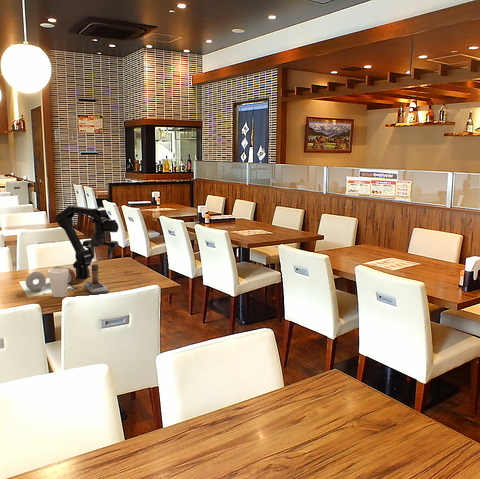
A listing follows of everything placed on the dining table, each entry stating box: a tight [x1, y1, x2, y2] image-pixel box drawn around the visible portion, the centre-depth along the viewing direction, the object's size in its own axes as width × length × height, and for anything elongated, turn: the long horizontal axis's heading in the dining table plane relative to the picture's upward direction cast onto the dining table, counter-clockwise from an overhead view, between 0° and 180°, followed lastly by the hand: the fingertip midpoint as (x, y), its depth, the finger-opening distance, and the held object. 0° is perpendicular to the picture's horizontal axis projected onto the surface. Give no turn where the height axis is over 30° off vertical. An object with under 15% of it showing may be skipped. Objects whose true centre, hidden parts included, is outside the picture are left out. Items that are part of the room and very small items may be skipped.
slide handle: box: [89, 263, 103, 288], centre depth 249 cm, size 5×5×12 cm
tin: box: [52, 266, 76, 285], centre depth 262 cm, size 15×3×8 cm, turn 71°
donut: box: [25, 271, 47, 292], centre depth 246 cm, size 10×3×10 cm, turn 133°
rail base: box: [83, 281, 110, 295], centre depth 249 cm, size 14×10×3 cm
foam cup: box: [47, 267, 69, 298], centre depth 237 cm, size 10×9×13 cm
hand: (101, 259), depth 267 cm, fingers open, 9 cm apart
